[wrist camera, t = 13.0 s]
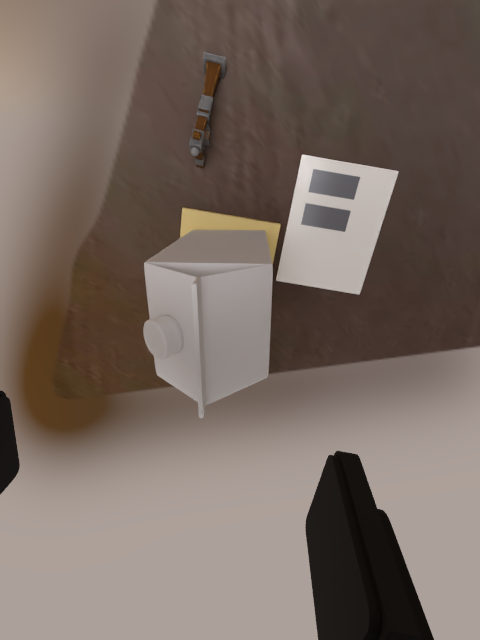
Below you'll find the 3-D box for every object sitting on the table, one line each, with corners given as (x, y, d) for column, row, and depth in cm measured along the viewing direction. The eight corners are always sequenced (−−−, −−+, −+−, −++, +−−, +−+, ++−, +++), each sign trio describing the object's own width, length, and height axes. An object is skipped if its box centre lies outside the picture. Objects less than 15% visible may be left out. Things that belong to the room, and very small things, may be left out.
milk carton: (265, 229, 31) (277, 285, 13) (263, 299, 34) (271, 421, 16) (192, 229, 31) (111, 282, 14) (196, 298, 34) (132, 416, 16)
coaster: (279, 223, 32) (280, 224, 31) (262, 312, 35) (262, 315, 34) (184, 207, 32) (182, 207, 31) (176, 297, 35) (174, 300, 34)
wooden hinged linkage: (188, 174, 30) (181, 147, 25) (206, 91, 30) (203, 49, 25) (207, 178, 30) (204, 152, 25) (225, 95, 30) (225, 55, 25)
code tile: (397, 171, 30) (398, 171, 29) (358, 293, 34) (359, 294, 34) (301, 154, 30) (302, 154, 29) (275, 279, 34) (275, 280, 34)
